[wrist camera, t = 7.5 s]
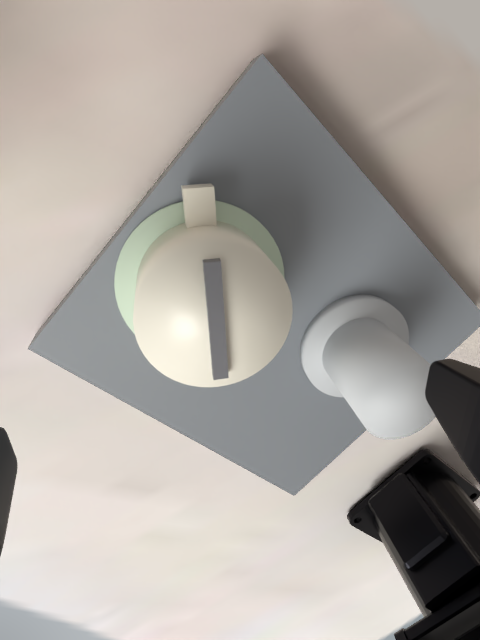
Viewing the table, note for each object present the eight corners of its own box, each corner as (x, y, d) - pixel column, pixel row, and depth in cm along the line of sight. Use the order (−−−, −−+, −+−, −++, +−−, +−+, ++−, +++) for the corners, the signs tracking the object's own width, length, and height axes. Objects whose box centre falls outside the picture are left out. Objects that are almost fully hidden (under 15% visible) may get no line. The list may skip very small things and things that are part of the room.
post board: (469, 309, 20) (571, 368, 15) (287, 478, 23) (324, 575, 18) (253, 59, 14) (309, 23, 9) (35, 333, 16) (-14, 423, 12)
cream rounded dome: (270, 361, 17) (293, 408, 14) (150, 377, 17) (150, 431, 14) (267, 179, 14) (298, 193, 11) (120, 189, 13) (110, 208, 10)
